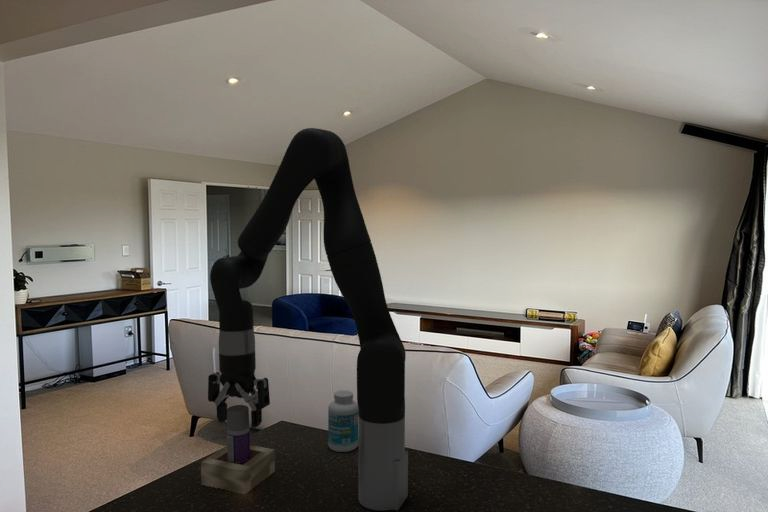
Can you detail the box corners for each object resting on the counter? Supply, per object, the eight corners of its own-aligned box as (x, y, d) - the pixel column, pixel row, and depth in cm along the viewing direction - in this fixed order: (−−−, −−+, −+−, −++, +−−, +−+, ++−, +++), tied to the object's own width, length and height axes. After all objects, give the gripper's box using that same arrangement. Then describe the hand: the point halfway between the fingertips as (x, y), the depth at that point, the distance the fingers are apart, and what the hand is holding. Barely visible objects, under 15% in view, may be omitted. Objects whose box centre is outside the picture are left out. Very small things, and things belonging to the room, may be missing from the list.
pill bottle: (323, 451, 132) (323, 396, 131) (334, 439, 139) (334, 387, 138) (352, 455, 130) (352, 399, 129) (362, 442, 137) (362, 390, 136)
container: (253, 470, 120) (252, 405, 118) (246, 481, 115) (244, 413, 114) (232, 469, 120) (231, 404, 119) (224, 480, 116) (223, 412, 114)
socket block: (274, 471, 121) (274, 449, 121) (245, 494, 111) (244, 470, 111) (233, 463, 125) (233, 441, 125) (201, 484, 115) (200, 461, 115)
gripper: (275, 348, 117) (277, 422, 118) (221, 343, 122) (223, 413, 124) (254, 356, 110) (256, 434, 111) (198, 350, 115) (200, 425, 117)
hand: (239, 423), depth 117 cm, fingers open, 8 cm apart
